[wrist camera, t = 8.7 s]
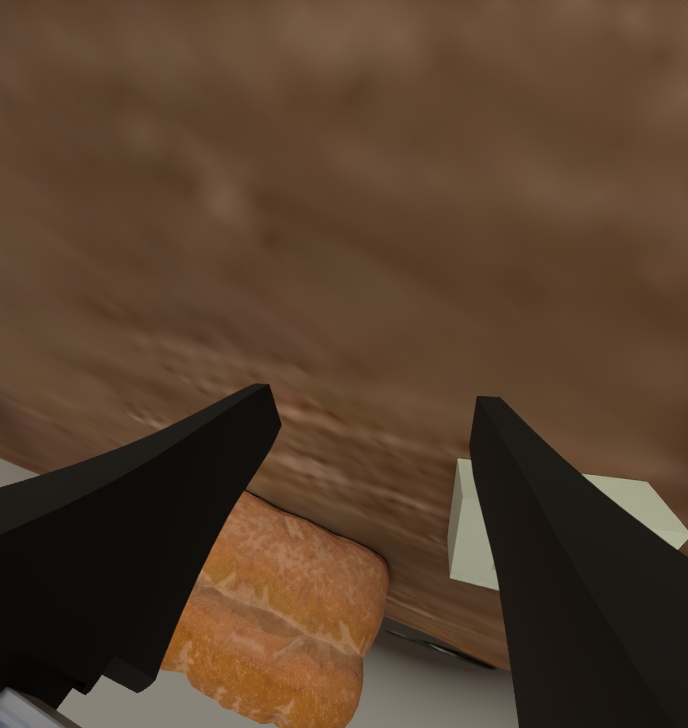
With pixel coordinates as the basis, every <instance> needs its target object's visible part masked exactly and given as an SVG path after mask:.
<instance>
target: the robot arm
mask: <svg viewBox="0 0 688 728" xmlns="http://www.w3.org/2000/svg"><path fill="white" fill-rule="evenodd" d="M281 425H282V424H281V421H280V418H279V415H278V411H277V408H276V405H275V402H274V398H273V395H272V392H271V389H270V385H269V384H257V383H256V384H253V385H251V386H248V387H246V388H244V389H242V390H240V391H238V392H236V393H234V394H232V395H230V396H228V397H226V398H224V399H222V400H220V401H218V402H216V403H214V404H213V405H211V406H209V407H207V408H205V409H203V410H201V411H199V412H197V413H195V414H193V415H191V416H189V417H187V418H185V419H183V420H181V421H179V422H177V423H175V424H173V425H171V426H169V427H167V428H165V429H163V430H160V431H158V432H156V433H154V434H151V435H149V436H147V437H145V438H142V439H140V440H138V441H135V442H133V443H130V444H128V445H126V446H123V447H121V448H118V449H115V450H113V451H110V452H107V453H104V454H102V455H99V456H96V457H94V458H91V459H88V460H85V461H83V462H80V463H77V464H74V465H71V466H68V467H65V468H62V469H59V470H56V471H53V472H50V473H47V474H44V475H40V476H37V477H34V478H30V479H27V480H24V481H21V482H17V483H14V484H10V485H7V486H3V487H0V728H81V727H80V726H78V725H77V724H75V723H74V722H73V721H71V720H70V719H68V718H67V717H65V716H64V715H62V714H61V713H59V712H58V711H56V709H57V708H58V707H59V705H60V704H61V703H62V701H63V700H64V699H65V697H66V696H67V695H68V693H69V692H70V691H71V689H72V688H74V689H76V690H77V691H79V692H81V693H82V694H84V695H86V694H87V693H89V692H90V691H91V690H92V688H93V687H94V685H95V684H96V682H97V681H98V680H99V678H100V677H101V675H104V676H106V677H108V678H109V679H112V680H113V681H115V682H117V683H119V684H121V685H123V686H125V687H126V688H128V689H130V690H132V691H134V692H136V693H139V692H141V691H143V690H144V689H146V688H147V687H149V686H150V685H151V684H152V683H153V682H154V681H155V680H156V677H157V674H158V672H159V669H160V667H161V664H162V661H163V659H164V656H165V654H166V651H167V649H168V646H169V644H170V642H171V639H172V637H173V634H174V632H175V629H176V627H177V624H178V622H179V619H180V617H181V615H182V612H183V610H184V608H185V606H186V603H187V601H188V599H189V597H190V594H191V592H192V590H193V588H194V585H195V583H196V581H197V579H198V576H199V574H200V572H201V570H202V568H203V566H204V564H205V562H206V560H207V558H208V556H209V554H210V552H211V549H212V547H213V545H214V543H215V541H216V539H217V538H218V536H219V534H220V532H221V530H222V528H223V526H224V524H225V522H226V520H227V518H228V516H229V515H230V513H231V511H232V509H233V508H234V506H235V504H236V503H237V501H238V500H239V498H240V496H241V495H242V493H243V492H244V490H245V489H246V487H247V486H248V484H249V482H250V481H251V479H252V478H253V476H254V475H255V473H256V472H257V470H258V468H259V467H260V465H261V464H262V462H263V460H264V459H265V457H266V456H267V454H268V452H269V451H270V449H271V447H272V445H273V443H274V441H275V439H276V437H277V435H278V432H279V430H280V428H281ZM469 447H470V456H471V465H472V472H473V479H474V483H475V487H476V491H477V495H478V500H479V504H480V508H481V512H482V516H483V520H484V524H485V528H486V532H487V536H488V540H489V544H490V548H491V552H492V556H493V561H494V565H495V570H496V575H497V580H498V586H499V592H500V599H501V605H502V611H503V618H504V624H505V631H506V638H507V644H508V651H509V658H510V665H511V672H512V679H513V686H514V693H515V701H516V708H517V716H518V723H519V728H688V557H687V556H685V555H684V554H683V553H681V552H680V551H678V550H677V549H676V548H674V547H673V546H672V545H670V544H669V543H668V542H666V541H665V540H664V539H662V538H661V537H660V536H658V535H657V534H656V533H654V532H653V531H652V530H651V529H649V528H648V527H647V526H645V525H644V524H643V523H641V522H640V521H639V520H637V519H636V518H635V517H634V516H632V515H631V514H630V513H628V512H627V511H626V510H624V509H623V508H622V507H621V506H619V505H618V504H617V503H616V502H614V501H613V500H612V499H611V498H609V497H608V496H607V495H606V494H604V493H603V492H602V491H601V490H600V489H598V488H597V487H596V486H595V485H594V484H593V483H591V482H590V481H589V480H588V479H587V478H585V477H584V476H583V475H582V474H581V473H580V472H578V471H577V470H576V469H575V468H574V467H572V466H571V465H570V464H569V463H568V462H567V461H566V460H565V459H563V458H562V457H561V456H560V455H559V454H558V453H557V452H556V451H555V450H554V449H553V448H551V447H550V446H549V445H548V444H547V443H546V442H545V441H544V440H543V439H542V438H541V437H540V436H539V435H538V434H537V433H536V432H534V431H533V430H532V429H531V428H530V427H529V426H528V425H527V424H526V423H525V422H524V421H523V420H522V419H521V418H520V417H519V416H518V415H517V414H516V413H515V412H514V411H513V410H512V409H511V408H510V407H509V406H508V405H507V404H506V403H505V402H504V401H503V400H502V399H501V398H500V397H486V396H477V399H476V406H475V412H474V418H473V425H472V431H471V438H470V444H469Z"/></svg>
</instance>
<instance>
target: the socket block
mask: <svg viewBox="0 0 688 728" xmlns="http://www.w3.org/2000/svg"><path fill="white" fill-rule="evenodd" d="M582 475H583V476H584V477H585V478H587V479H588V480H589V481H590V482H591V483H593V484H594V485H595V486H596V487H597V488H598V489H600V490H601V491H602V492H603V493H604V494H606V495H607V496H608V497H609V498H611V499H612V500H613V501H614V502H616V503H617V504H618V505H619V506H621V507H622V508H623V509H624V510H626V511H627V512H628V513H630V514H631V515H632V516H634V517H635V518H636V519H637V520H639V521H640V522H641V523H643V524H644V525H645V526H647V527H648V528H649V529H651V530H652V531H653V532H654V533H656V534H657V535H658V536H660V537H661V538H662V539H664V540H665V541H666V542H668V543H669V544H670V545H672V546H673V547H674V548H676V549H677V550H678V549H679V548H680V547H681V546H682V545H683V544H684V542H685V541H686V540H687V539H688V530H687V529H686V528H685V526H684V525H683V524H682V523H681V522H680V520H679V519H678V518H677V517H676V516H675V515H674V513H673V512H672V511H671V510H670V509H669V507H668V506H667V505H666V504H665V503H664V501H663V500H662V499H661V498H660V497H659V495H658V494H657V493H656V492H655V491H654V489H653V488H652V487H651V486H650V485H649V483H648V482H645V481H637V480H629V479H621V478H613V477H604V476H596V475H588V474H582ZM447 543H448V558H449V572H450V578H452V579H455V580H459V581H463V582H467V583H471V584H475V585H479V586H483V587H487V588H491V589H495V590H499V586H498V580H497V575H496V570H495V565H494V561H493V556H492V552H491V548H490V544H489V540H488V536H487V532H486V528H485V524H484V520H483V516H482V512H481V508H480V504H479V500H478V495H477V491H476V487H475V483H474V479H473V472H472V465H471V460H467V459H459V458H458V459H457V467H456V475H455V482H454V490H453V498H452V505H451V513H450V521H449V528H448V536H447Z"/></svg>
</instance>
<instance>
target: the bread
mask: <svg viewBox="0 0 688 728" xmlns="http://www.w3.org/2000/svg"><path fill="white" fill-rule="evenodd" d="M388 589H389V575H388V570H387V565H386V562H385V561H384V560H383V559H382V557H381V556H380V555H378V554H377V553H375V552H373V551H372V550H370V549H368V548H366V547H364V546H362V545H360V544H358V543H356V542H354V541H352V540H350V539H347V538H344V537H340V536H337V535H334V534H333V533H331V532H329V531H327V530H326V529H324V528H322V527H320V526H318V525H316V524H314V523H312V522H310V521H308V520H305V519H303V518H300V517H297V516H295V515H292V514H289V513H287V512H284V511H282V510H280V509H278V508H276V507H274V506H272V505H270V504H269V503H267V502H266V501H264V500H262V499H260V498H257V497H255V496H253V495H251V494H250V493H248V492H246V491H244V492H243V493H242V495H241V496H240V498H239V500H238V501H237V503H236V504H235V506H234V508H233V509H232V511H231V513H230V515H229V516H228V518H227V520H226V522H225V524H224V526H223V528H222V530H221V532H220V534H219V536H218V538H217V539H216V541H215V543H214V545H213V547H212V549H211V552H210V554H209V556H208V558H207V560H206V562H205V564H204V566H203V568H202V570H201V572H200V574H199V576H198V579H197V581H196V583H195V585H194V588H193V590H192V592H191V594H190V597H189V599H188V601H187V603H186V606H185V608H184V610H183V612H182V615H181V617H180V619H179V622H178V624H177V627H176V629H175V632H174V634H173V637H172V639H171V642H170V644H169V646H168V649H167V651H166V654H165V656H164V659H163V661H162V664H161V667H160V669H162V670H167V671H176V672H181V673H183V674H185V675H186V676H187V678H188V680H189V682H190V683H191V685H192V686H193V687H194V688H196V689H197V690H199V691H200V692H202V693H203V694H205V695H207V696H209V697H211V698H213V699H215V700H217V701H218V702H219V703H220V705H221V706H222V707H223V708H226V709H230V710H233V711H235V712H237V713H239V714H241V715H243V716H245V717H248V718H250V719H252V720H254V721H256V722H258V723H260V724H267V723H274V724H275V725H276V726H277V727H279V728H345V726H346V725H347V724H348V723H349V722H350V721H351V719H352V718H353V716H354V713H355V711H356V709H357V707H358V704H359V700H360V695H361V691H362V685H363V660H364V658H365V656H366V654H367V653H368V651H369V649H370V647H371V645H372V643H373V641H374V639H375V637H376V635H377V633H378V631H379V628H380V625H381V622H382V618H383V615H384V611H385V603H386V598H387V594H388Z"/></svg>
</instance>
